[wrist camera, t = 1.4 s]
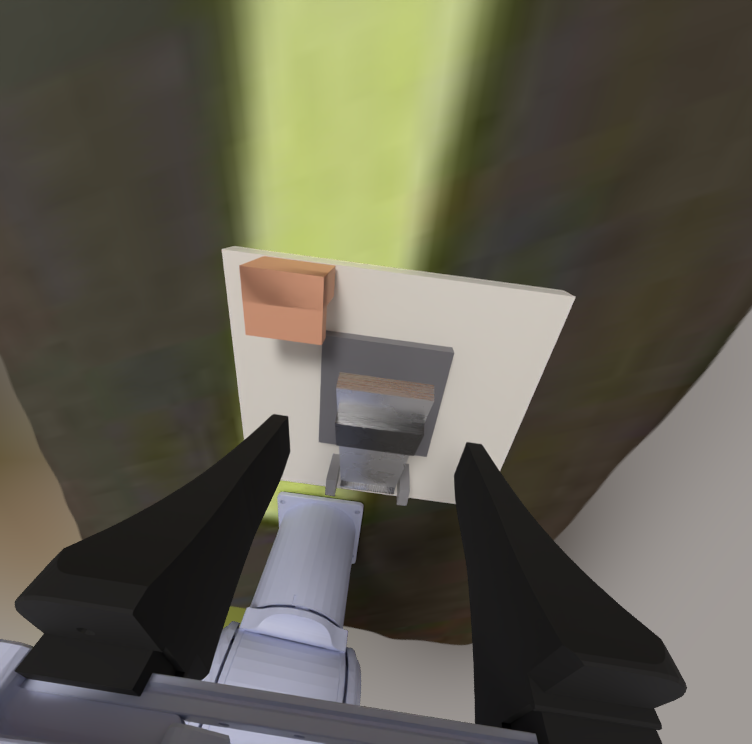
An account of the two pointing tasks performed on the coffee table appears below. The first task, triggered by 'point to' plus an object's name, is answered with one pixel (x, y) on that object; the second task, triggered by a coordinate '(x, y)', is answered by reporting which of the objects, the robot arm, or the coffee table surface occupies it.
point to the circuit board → (400, 364)
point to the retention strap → (378, 429)
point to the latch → (286, 298)
